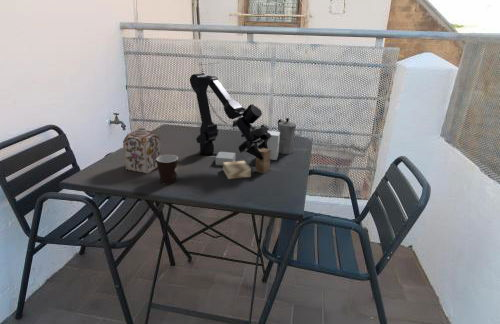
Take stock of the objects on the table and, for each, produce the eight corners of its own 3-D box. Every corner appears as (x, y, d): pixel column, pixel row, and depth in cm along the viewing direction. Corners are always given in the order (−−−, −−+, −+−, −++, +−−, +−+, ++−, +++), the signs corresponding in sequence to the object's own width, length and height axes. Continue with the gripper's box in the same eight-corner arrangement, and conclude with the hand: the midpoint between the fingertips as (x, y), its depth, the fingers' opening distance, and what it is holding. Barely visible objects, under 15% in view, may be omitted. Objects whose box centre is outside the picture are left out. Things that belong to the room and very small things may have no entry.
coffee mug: (168, 187, 133) (167, 164, 130) (153, 181, 138) (151, 159, 134) (188, 177, 143) (187, 155, 139) (173, 172, 147) (172, 151, 143)
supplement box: (276, 160, 164) (278, 135, 160) (262, 158, 166) (263, 134, 161) (278, 155, 171) (280, 131, 166) (264, 153, 172) (265, 130, 168)
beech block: (228, 179, 143) (228, 171, 141) (223, 170, 152) (223, 162, 150) (250, 177, 146) (250, 168, 144) (244, 168, 154) (244, 160, 153)
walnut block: (255, 171, 151) (256, 150, 147) (261, 167, 155) (262, 147, 151) (263, 173, 149) (264, 152, 145) (269, 170, 152) (270, 149, 149)
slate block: (215, 165, 157) (215, 157, 155) (219, 159, 164) (219, 151, 163) (232, 166, 156) (232, 158, 154) (235, 160, 163) (235, 152, 162)
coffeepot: (299, 154, 173) (302, 120, 167) (284, 156, 170) (286, 122, 163) (283, 145, 186) (286, 113, 179) (269, 147, 182) (271, 114, 176)
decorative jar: (125, 169, 148) (120, 130, 141) (141, 160, 158) (138, 124, 151) (147, 174, 144) (144, 134, 138) (163, 164, 154) (160, 127, 148)
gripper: (244, 123, 138) (265, 154, 136) (269, 115, 152) (288, 143, 150) (229, 137, 145) (249, 167, 144) (254, 128, 159) (272, 155, 158)
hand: (265, 157), depth 149 cm, fingers closed on walnut block, 5 cm apart
